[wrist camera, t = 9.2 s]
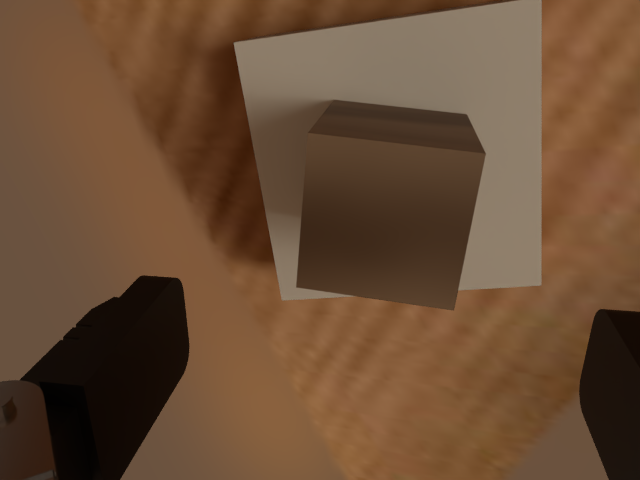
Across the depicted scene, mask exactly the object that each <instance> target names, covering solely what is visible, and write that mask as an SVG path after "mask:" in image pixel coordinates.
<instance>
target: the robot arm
mask: <svg viewBox="0 0 640 480" xmlns="http://www.w3.org/2000/svg"><path fill="white" fill-rule="evenodd" d="M188 357H189V337H188V328H187V318H186V309H185V300H184V292H183V287H182V283H181V281H180V280H179V279H178V278H171V277H157V276H140V277H139V278H138V279H137V280H136V281H135V282H134V283H133V284H132V285H131V286H130V287H129V288H128V289H127V290H126V291H125V292H124V293H123V294H122V295H121V296H120V297H119V298H118V297H113V298H111V299H110V300H108V301H106V302H104V303H102V304H100V305H98V306H97V307H95V308H93V309H91V310H90V311H89V312H88V313H87V314H86V315H85V316H84V317H83V318H82V319H81V320H80V321H79V322H78V323H77V324H76V328H72V329H71V330H70V331H69V332H68V333H67V334H66V335H65V336H64V337H63V340H60V341H59V342H58V343H57V344H56V345H55V346H54V347H53V348H52V349H51V350H50V351H49V352H48V353H47V354H46V355H45V356H43V357H42V358H41V360H39V362H37V363H36V364H35V365H34V366H33V367H32V368H31V369H30V370H29V371H28V372H27V373H26V374H25V375H24V376H23V377H22V378H21V379H20V380H12V381H2V382H0V480H120V479H121V477H122V475H123V474H124V472H125V470H126V469H127V467H128V465H129V464H130V462H131V460H132V459H133V457H134V455H135V454H136V452H137V450H138V448H139V447H140V445H141V444H142V442H143V440H144V439H145V437H146V435H147V434H148V432H149V430H150V429H151V427H152V425H153V424H154V422H155V420H156V419H157V417H158V416H159V414H160V412H161V411H162V409H163V407H164V405H165V404H166V402H167V401H168V399H169V397H170V395H171V394H172V392H173V391H174V389H175V387H176V386H177V384H178V382H179V381H180V379H181V377H182V375H183V374H184V371H185V369H186V366H187V362H188ZM579 395H580V405H581V409H582V413H583V416H584V418H585V421H586V423H587V426H588V428H589V431H590V433H591V436H592V438H593V441H594V443H595V446H596V448H597V450H598V453H599V456H600V458H601V461H602V463H603V466H604V468H605V471H606V473H607V476H608V478H609V480H640V312H635V311H621V310H607V309H600V310H598V312H597V313H596V315H595V317H594V320H593V324H592V329H591V333H590V338H589V342H588V347H587V351H586V356H585V360H584V365H583V369H582V374H581V379H580V389H579Z"/></svg>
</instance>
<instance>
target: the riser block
mask: <svg viewBox="0 0 640 480" xmlns="http://www.w3.org/2000/svg"><path fill="white" fill-rule="evenodd" d="M234 48H235V53H236V58H237V64H238V69H239V74H240V80H241V85H242V90H243V96H244V101H245V106H246V112H247V117H248V122H249V128H250V133H251V138H252V144H253V149H254V154H255V159H256V165H257V170H258V175H259V181H260V186H261V191H262V197H263V202H264V207H265V213H266V218H267V223H268V229H269V234H270V239H271V244H272V250H273V255H274V260H275V266H276V271H277V276H278V282H279V287H280V292H281V298H282V300H299V299H316V298H333V297H351V295H344V294H337V293H331V292H324V291H317V290H310V289H303V288H296V281H297V268H298V254H299V241H300V228H301V215H302V201H303V188H304V175H305V162H306V149H307V135H308V132H309V131H310V129H311V128H312V127H313V125H314V124H315V123H316V122H317V120H318V119H319V118H320V117H321V115H322V114H323V113H324V112H325V110H326V109H327V108H328V106H329V105H330V104H331V103H332V101H333V100H342V101H351V102H360V103H370V104H379V105H388V106H397V107H406V108H415V109H424V110H433V111H442V112H451V113H460V114H467V115H468V118H469V120H470V122H471V124H472V126H473V128H474V130H475V132H476V134H477V136H478V138H479V140H480V142H481V145H482V147H483V149H484V151H485V153H486V156H485V161H484V165H483V170H482V175H481V180H480V185H479V190H478V195H477V200H476V205H475V210H474V215H473V219H472V224H471V229H470V234H469V239H468V244H467V249H466V254H465V259H464V264H463V268H462V273H461V278H460V283H459V288H458V290H472V289H489V288H507V287H524V286H541V48H542V0H501V1H494V2H487V3H481V4H474V5H467V6H460V7H454V8H447V9H440V10H434V11H427V12H420V13H413V14H407V15H400V16H393V17H387V18H380V19H373V20H366V21H360V22H353V23H346V24H339V25H333V26H326V27H319V28H313V29H306V30H299V31H292V32H286V33H279V34H272V35H266V36H259V37H254V38H250V39H246V40H242V41H238V42H234Z"/></svg>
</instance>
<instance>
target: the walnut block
mask: <svg viewBox="0 0 640 480" xmlns="http://www.w3.org/2000/svg"><path fill="white" fill-rule="evenodd" d="M485 156H486V153H485V151H484V149H483V147H482V145H481V142H480V140H479V138H478V136H477V134H476V132H475V130H474V128H473V126H472V124H471V122H470V120H469V118H468V115H467V114H460V113H451V112H442V111H433V110H424V109H415V108H406V107H397V106H388V105H379V104H370V103H360V102H351V101H342V100H333V101H332V103H331V104H330V105H329V106H328V108H327V109H326V110H325V112H324V113H323V114H322V115H321V117H320V118H319V119H318V120H317V122H316V123H315V124H314V125H313V127H312V128H311V129H310V131H309V132H308V135H307V149H306V162H305V175H304V188H303V201H302V215H301V228H300V241H299V254H298V268H297V281H296V288H303V289H310V290H317V291H324V292H331V293H337V294H344V295H351V296H358V297H365V298H372V299H379V300H385V301H392V302H399V303H406V304H413V305H420V306H427V307H434V308H440V309H447V310H454V308H455V303H456V298H457V293H458V288H459V283H460V278H461V273H462V268H463V264H464V259H465V254H466V249H467V244H468V239H469V234H470V229H471V224H472V219H473V215H474V210H475V205H476V200H477V195H478V190H479V185H480V180H481V175H482V170H483V165H484V161H485Z"/></svg>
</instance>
